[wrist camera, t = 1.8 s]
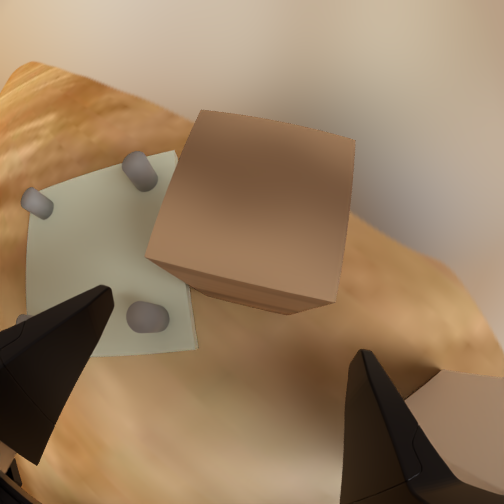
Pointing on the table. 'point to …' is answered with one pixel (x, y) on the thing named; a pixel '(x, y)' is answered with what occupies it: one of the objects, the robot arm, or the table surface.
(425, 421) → the milk carton
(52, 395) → the robot arm
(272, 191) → the walnut block
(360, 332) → the table surface
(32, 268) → the peg stand
